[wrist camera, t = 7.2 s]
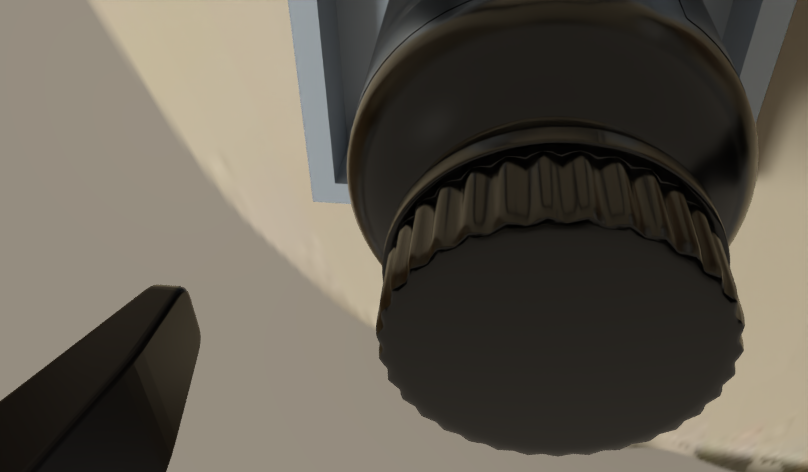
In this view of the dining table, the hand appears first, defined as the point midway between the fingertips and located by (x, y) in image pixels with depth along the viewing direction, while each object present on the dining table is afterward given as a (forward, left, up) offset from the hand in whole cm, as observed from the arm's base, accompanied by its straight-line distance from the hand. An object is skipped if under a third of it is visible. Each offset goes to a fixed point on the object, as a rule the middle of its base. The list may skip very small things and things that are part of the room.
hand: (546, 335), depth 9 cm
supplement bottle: (-1, 0, -12) cm, 13 cm away
